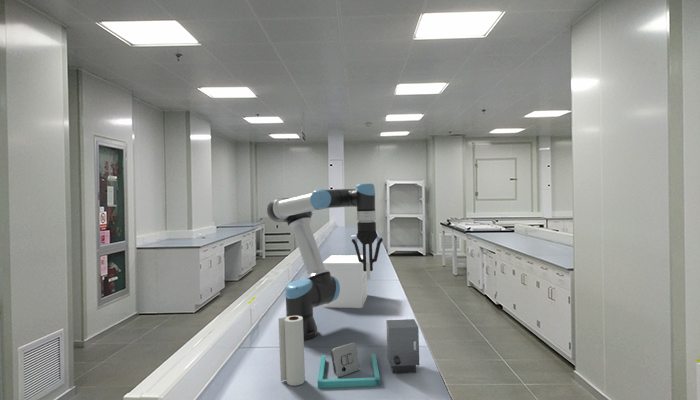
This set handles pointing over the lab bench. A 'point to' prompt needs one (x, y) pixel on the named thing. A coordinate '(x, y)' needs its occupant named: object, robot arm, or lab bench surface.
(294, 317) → the paper towel roll
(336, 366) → the electrical switch
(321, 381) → the teal bay
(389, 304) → the lab bench surface
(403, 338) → the control unit
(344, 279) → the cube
